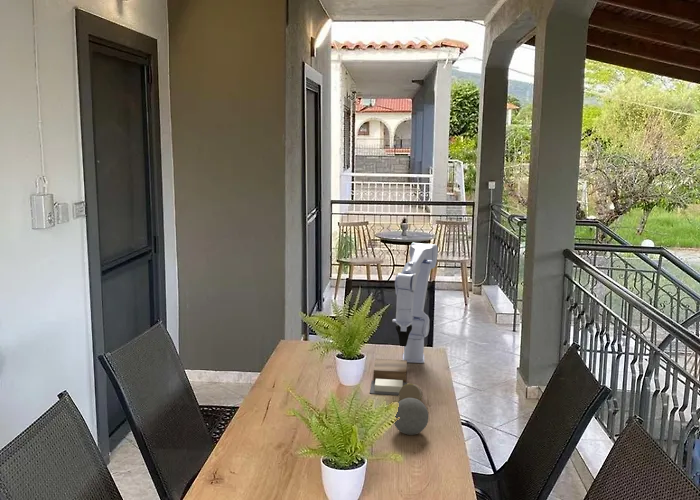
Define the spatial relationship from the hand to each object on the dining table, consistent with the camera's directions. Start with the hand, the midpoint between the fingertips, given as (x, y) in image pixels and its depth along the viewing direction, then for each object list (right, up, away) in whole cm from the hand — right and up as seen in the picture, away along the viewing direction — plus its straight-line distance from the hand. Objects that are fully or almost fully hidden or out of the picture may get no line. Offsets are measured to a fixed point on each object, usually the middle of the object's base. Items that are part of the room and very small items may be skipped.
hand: (403, 345), depth 228 cm
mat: (-6, -12, -13) cm, 19 cm away
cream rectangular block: (-6, -10, -14) cm, 18 cm away
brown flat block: (-5, -10, -2) cm, 11 cm away
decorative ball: (-2, -18, -46) cm, 49 cm away
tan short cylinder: (+1, -14, -24) cm, 28 cm away
